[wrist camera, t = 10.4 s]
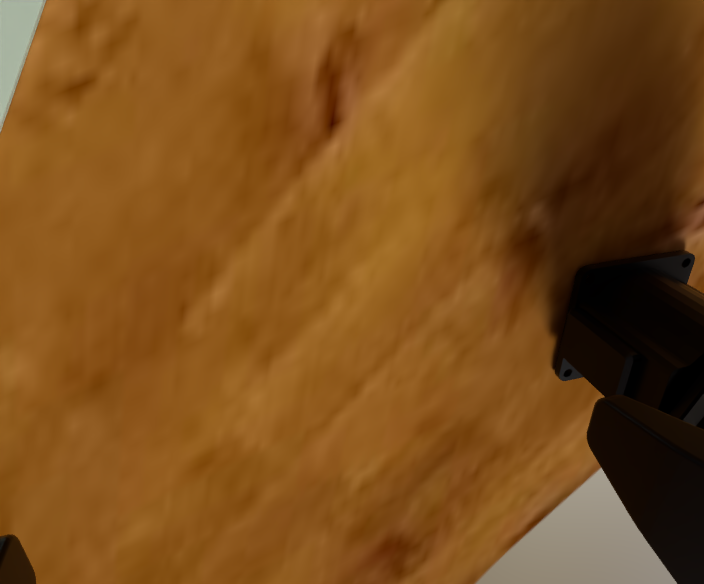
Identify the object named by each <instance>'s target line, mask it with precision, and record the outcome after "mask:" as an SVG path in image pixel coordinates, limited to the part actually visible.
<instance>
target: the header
mask: <svg viewBox="0 0 704 584" xmlns="http://www.w3.org/2000/svg"><path fill="white" fill-rule="evenodd" d="M45 2H46V0H0V132H1V129H2V126H3V123H4V120H5V117H6V115H7V112H8V109H9V106H10V103H11V100H12V97H13V94H14V92H15V89H16V86H17V83H18V80H19V77H20V74H21V71H22V68H23V66H24V63H25V60H26V57H27V54H28V51H29V48H30V45H31V42H32V40H33V37H34V34H35V31H36V28H37V25H38V22H39V19H40V17H41V14H42V11H43V8H44V5H45Z"/></svg>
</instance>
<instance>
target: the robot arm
mask: <svg viewBox="0 0 704 584" xmlns="http://www.w3.org/2000/svg"><path fill="white" fill-rule="evenodd" d="M694 261H695V257H694V255H693V254H691V253H689V252H687V251H684V250H682V251H676V252H669V253H663V254H656V255H650V256H644V257H637V258H631V259H624V260H618V261H612V262H605V263H599V264H592V265H587V266H584V267H582V268H581V269H580V270H579V271H578V272H577V274H576V277H575V282H574V286H573V291H572V295H571V300H570V304H569V309H568V313H567V318H566V322H565V327H564V331H563V336H562V340H561V345H560V349H559V354H558V358H557V363H556V367H555V374H556V376H557V377H558V378H559V379H560V380H562V381H567V380H572V379H577V378H581V377H584V378H586V379H587V380H588V381H589V382H590V383H591V384H592V385H593V386H594V387H595V388H596V389H597V390H598V391H599V392H601V393H602V394H603V395H604V396H605V397H604V398H600V399H598V401H597V402H596V403H595V405H594V409H593V412H592V416H591V419H590V423H589V427H588V430H587V441H588V444H589V447H590V449H591V451H592V452H593V454H594V456H595V457H596V459H597V461H598V463H599V464H600V466H601V468H602V469H603V471H604V473H605V474H606V476H607V478H608V479H609V481H610V483H611V485H612V486H613V488H614V490H615V491H616V493H617V495H618V496H619V498H620V500H621V501H622V503H623V505H624V506H625V508H626V510H627V511H628V513H629V515H630V516H631V518H632V520H633V521H634V523H635V524H636V526H637V528H638V529H639V531H640V532H641V533H642V534H643V536H644V538H645V539H646V541H647V542H648V544H649V545H650V546H651V547H652V549H653V550H654V552H655V553H656V554H657V556H658V557H659V559H660V560H661V562H662V563H663V564H664V566H665V567H666V568H667V570H668V571H669V572H670V574H671V575H672V577H673V578H674V579H675V581H676V582H677V584H704V293H702V292H700V291H698V290H697V289H695V288H693V287H691V286H689V285H688V284H687V282H688V279H689V276H690V273H691V270H692V267H693V264H694ZM588 275H589V276H588ZM587 276H588V277H587ZM0 584H36V577H35V572H34V570H33V567H32V565H31V563H30V561H29V559H28V557H27V555H26V553H25V551H24V549H23V547H22V545H21V543H20V541H19V539H18V538H17V537H16V536H15V535H9V534H8V535H4V536H0Z"/></svg>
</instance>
